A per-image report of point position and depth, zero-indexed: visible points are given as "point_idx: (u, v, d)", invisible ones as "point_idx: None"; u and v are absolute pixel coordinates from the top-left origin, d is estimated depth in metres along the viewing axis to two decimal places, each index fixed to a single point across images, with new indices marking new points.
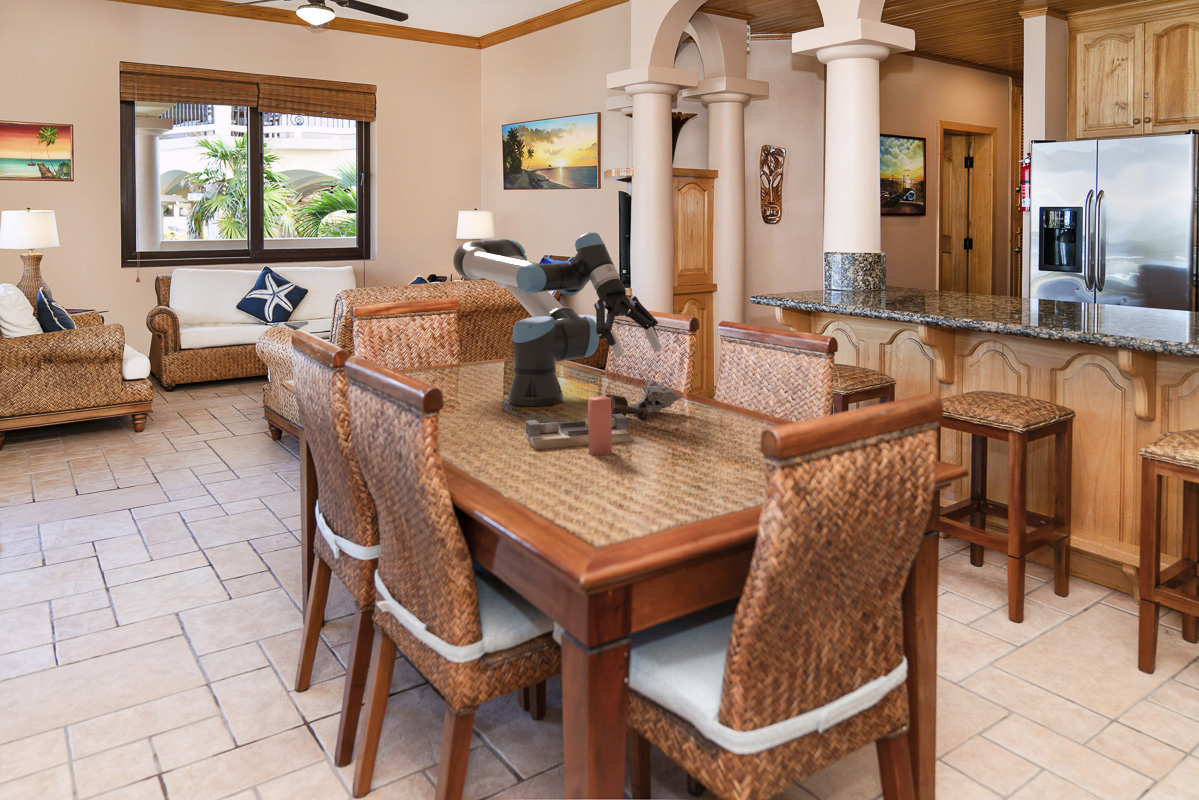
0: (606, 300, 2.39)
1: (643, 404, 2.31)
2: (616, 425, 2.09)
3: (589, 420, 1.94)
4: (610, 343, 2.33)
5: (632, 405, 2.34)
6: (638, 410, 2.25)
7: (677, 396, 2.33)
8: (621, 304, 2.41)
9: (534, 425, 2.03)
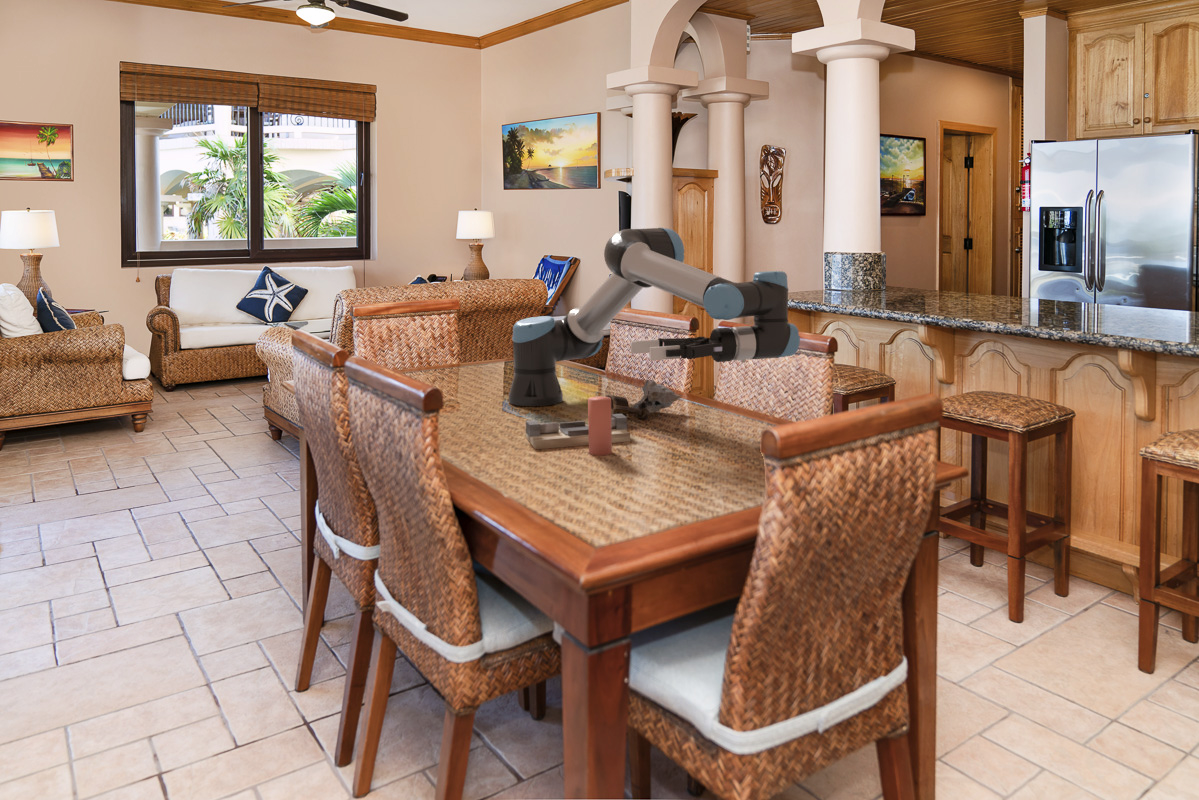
0: None
1: (643, 404, 2.30)
2: (616, 425, 2.09)
3: (589, 420, 1.94)
4: (669, 353, 1.89)
5: (632, 405, 2.34)
6: (639, 410, 2.25)
7: (677, 396, 2.33)
8: None
9: (534, 425, 2.03)
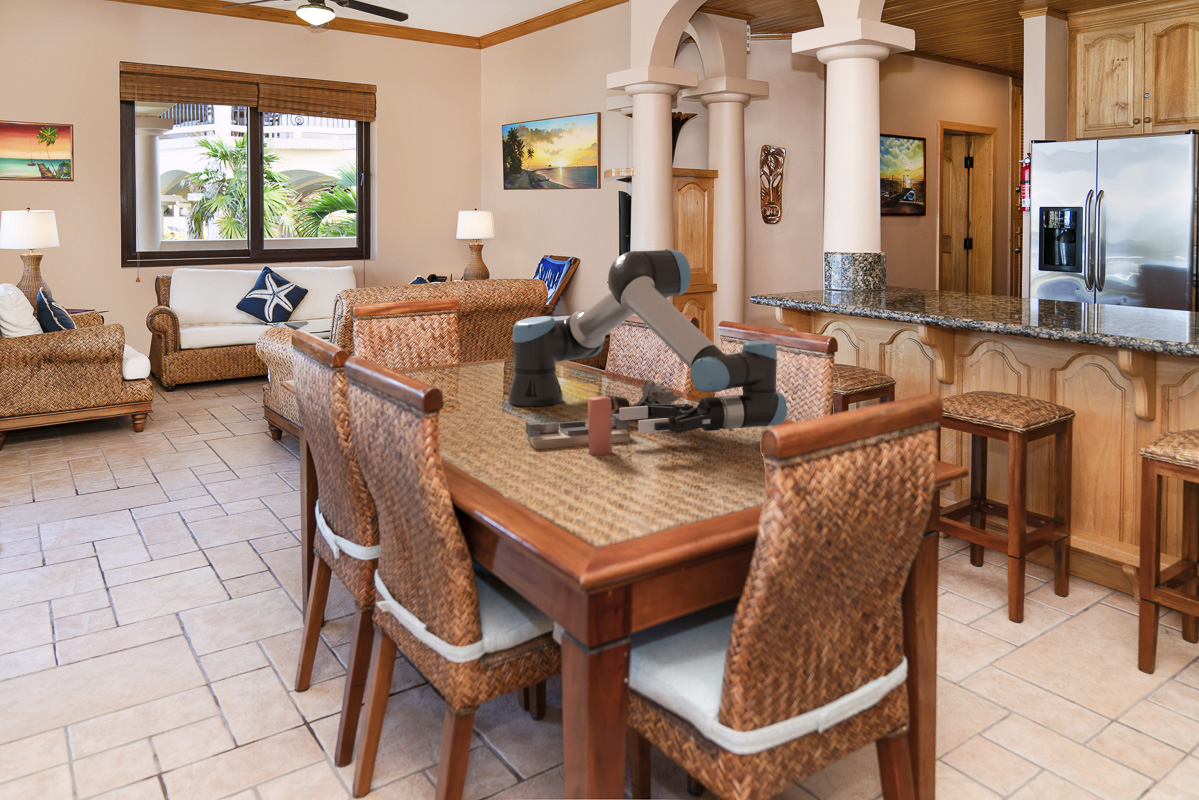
0: None
1: (643, 405, 2.30)
2: (616, 425, 2.09)
3: (589, 420, 1.94)
4: (658, 427, 1.90)
5: (631, 406, 2.34)
6: None
7: (676, 396, 2.33)
8: None
9: (534, 425, 2.03)
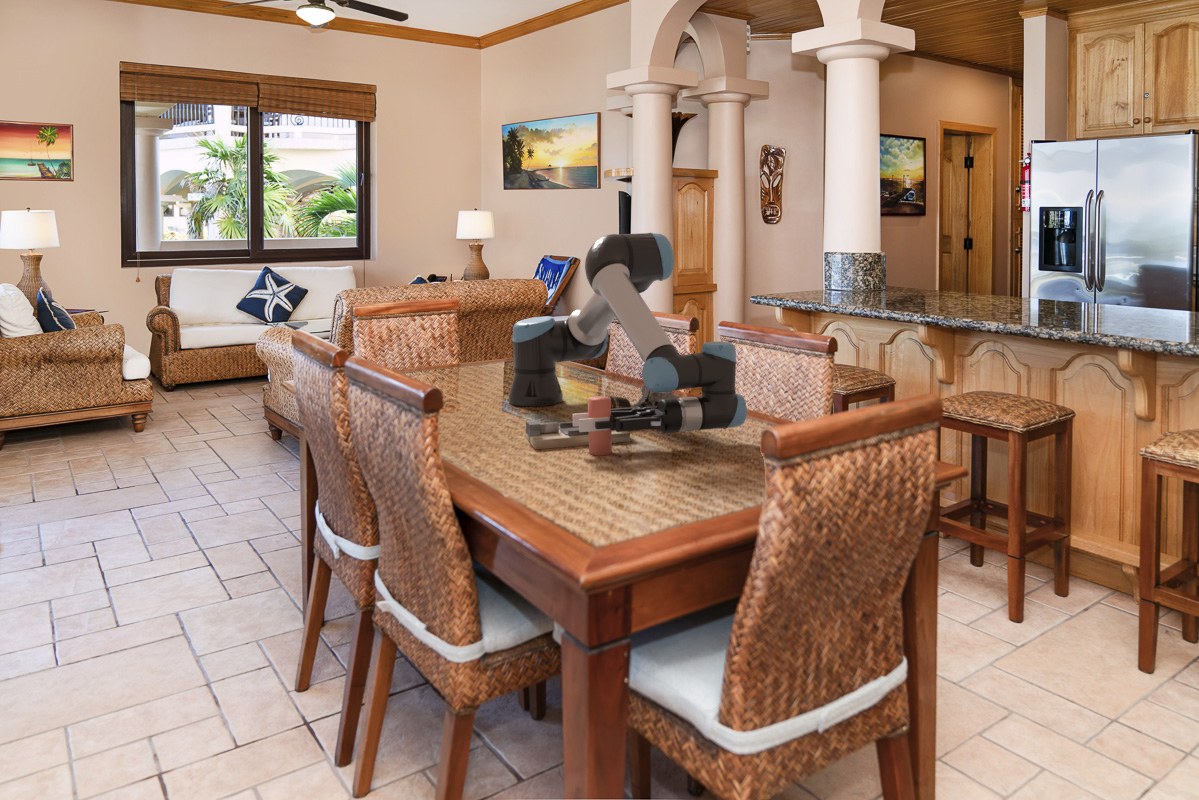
0: None
1: (643, 405, 2.29)
2: None
3: None
4: (598, 425, 1.91)
5: (631, 406, 2.33)
6: None
7: (676, 396, 2.33)
8: None
9: (534, 425, 2.03)
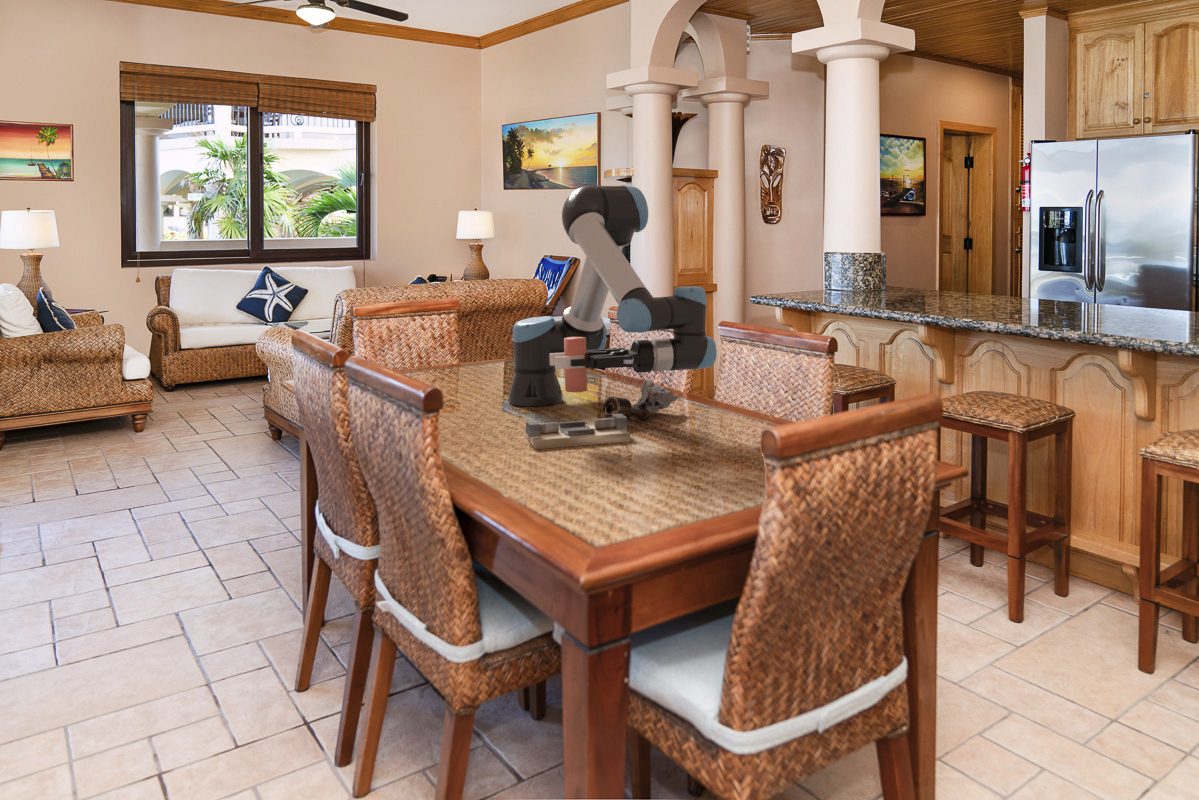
0: (632, 363, 2.05)
1: (643, 405, 2.29)
2: (616, 425, 2.09)
3: None
4: (573, 363, 2.01)
5: None
6: (641, 411, 2.23)
7: (675, 396, 2.33)
8: None
9: (534, 425, 2.03)
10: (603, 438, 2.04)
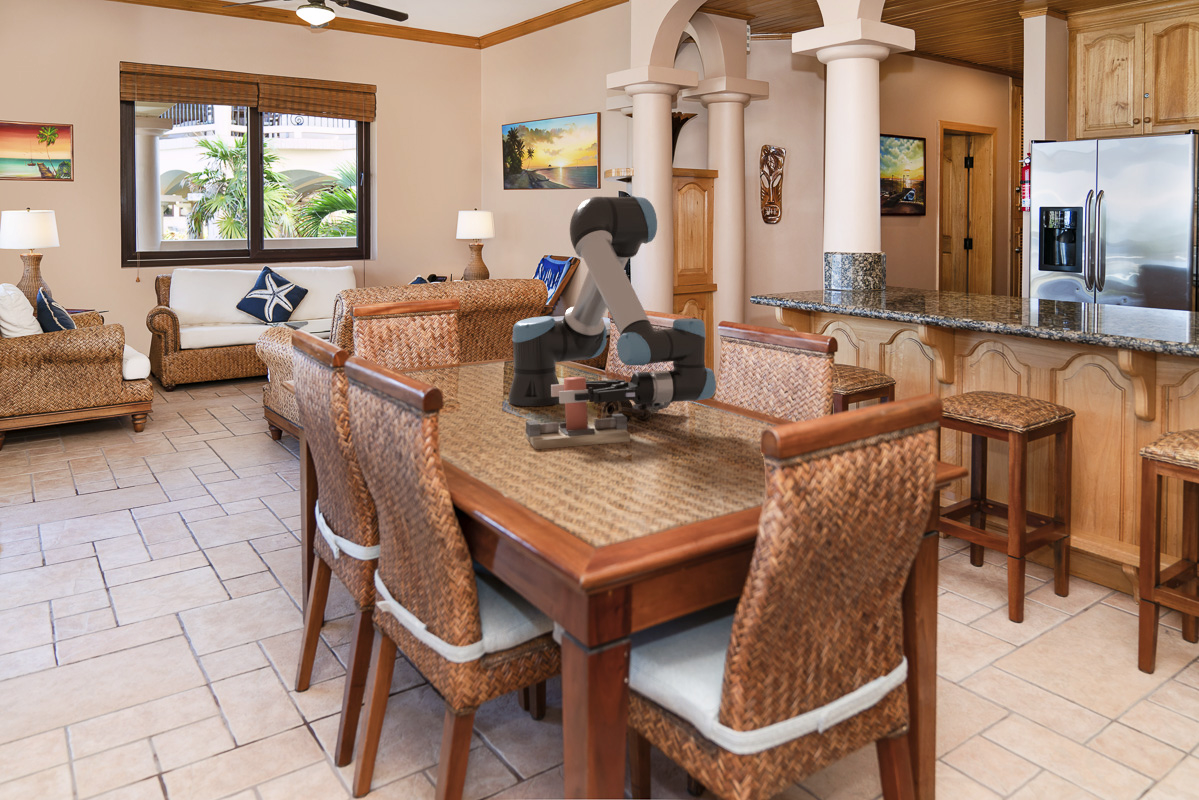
0: None
1: (643, 405, 2.29)
2: (616, 425, 2.09)
3: None
4: (577, 397, 2.01)
5: None
6: (642, 412, 2.23)
7: None
8: None
9: (534, 425, 2.03)
10: (603, 438, 2.04)
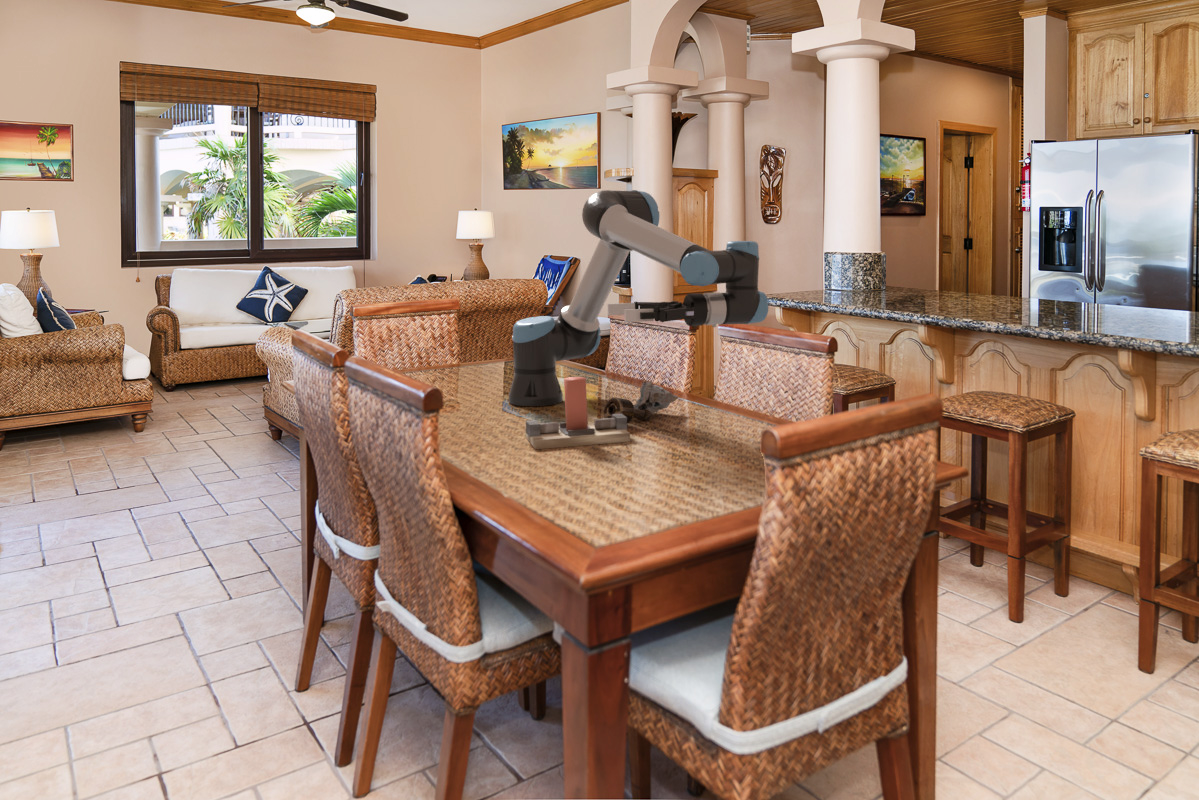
0: None
1: (644, 406, 2.28)
2: (616, 425, 2.09)
3: (565, 399, 2.06)
4: (643, 315, 1.99)
5: None
6: (643, 412, 2.23)
7: (675, 397, 2.33)
8: None
9: (534, 425, 2.03)
10: (603, 438, 2.04)
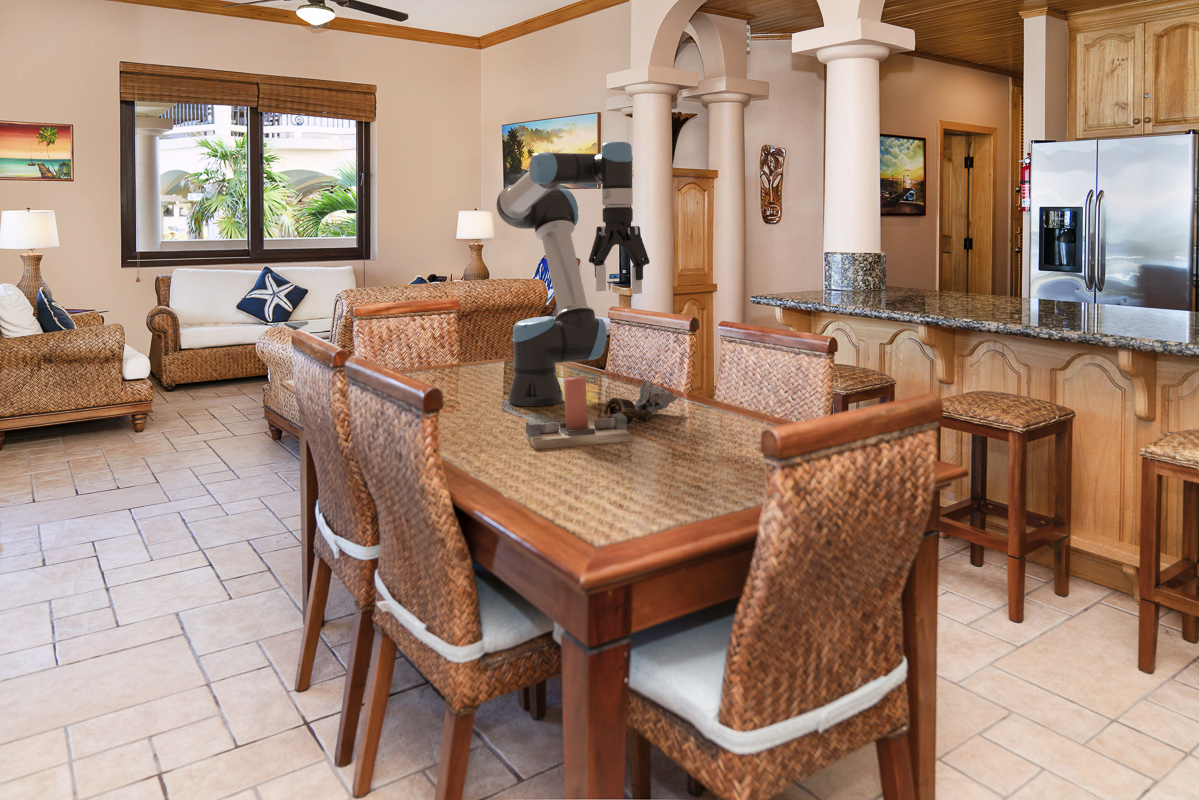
0: (605, 228, 2.28)
1: (644, 406, 2.28)
2: (616, 425, 2.09)
3: (565, 399, 2.06)
4: None
5: None
6: (644, 412, 2.22)
7: (674, 397, 2.33)
8: (615, 235, 2.25)
9: (534, 425, 2.03)
10: (603, 438, 2.04)
